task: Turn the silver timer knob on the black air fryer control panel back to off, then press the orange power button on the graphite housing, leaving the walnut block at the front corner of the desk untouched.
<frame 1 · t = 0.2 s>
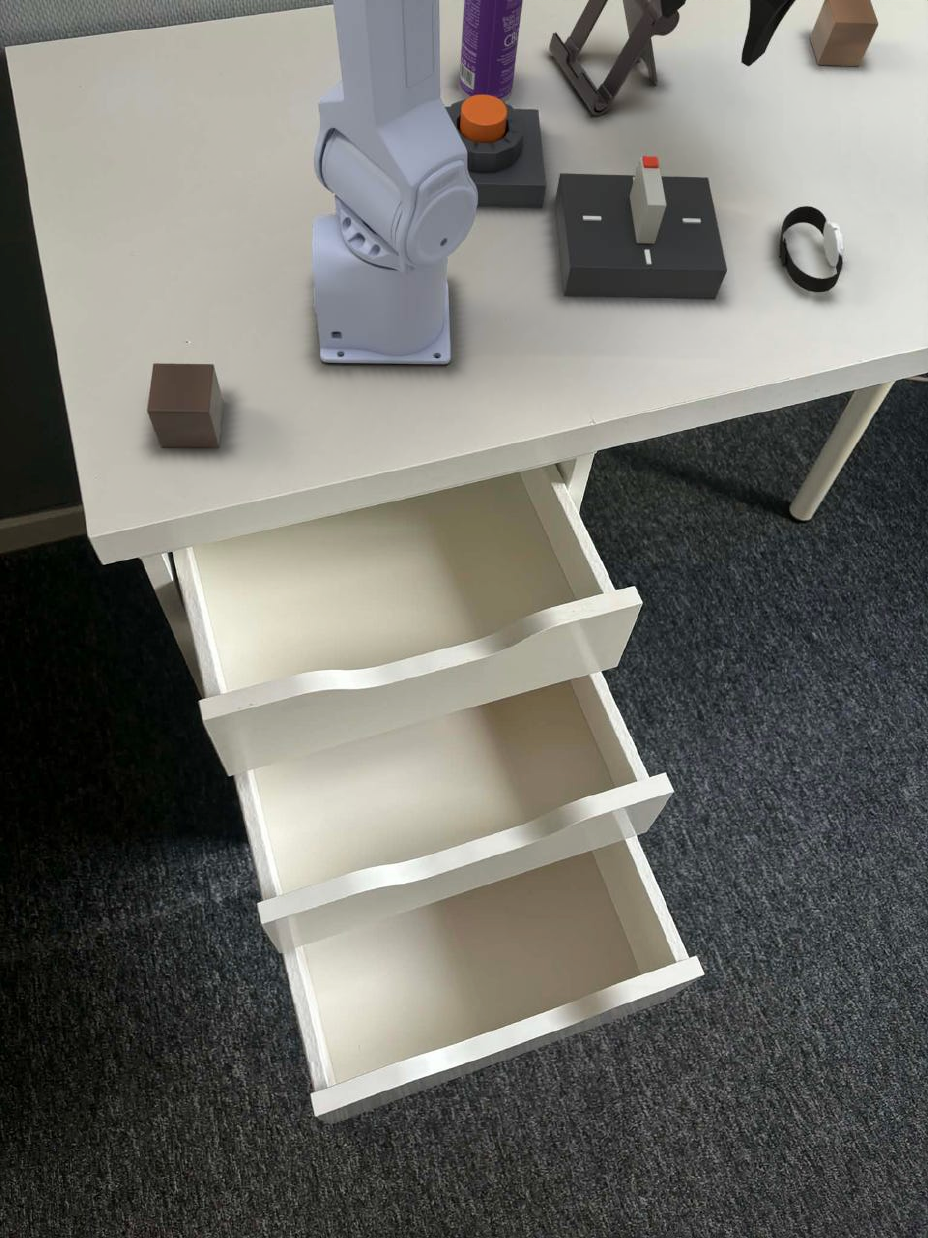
hand: (712, 32, 72), 11 cm above the table, tool pointing down, fingers open, 7 cm apart
tablet stand: (606, 79, 85), on the table
container: (485, 90, 83), on the table
walnut block: (192, 424, 66), on the table
cork block: (834, 51, 88), on the table
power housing: (479, 167, 79), on the table
watch: (803, 264, 77), on the table
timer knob: (647, 199, 71), point 5 cm above the table, hinge at 90.0°
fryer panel: (633, 250, 76), on the table
power button: (483, 119, 75), point 4 cm above the table, slide at 0.1 cm
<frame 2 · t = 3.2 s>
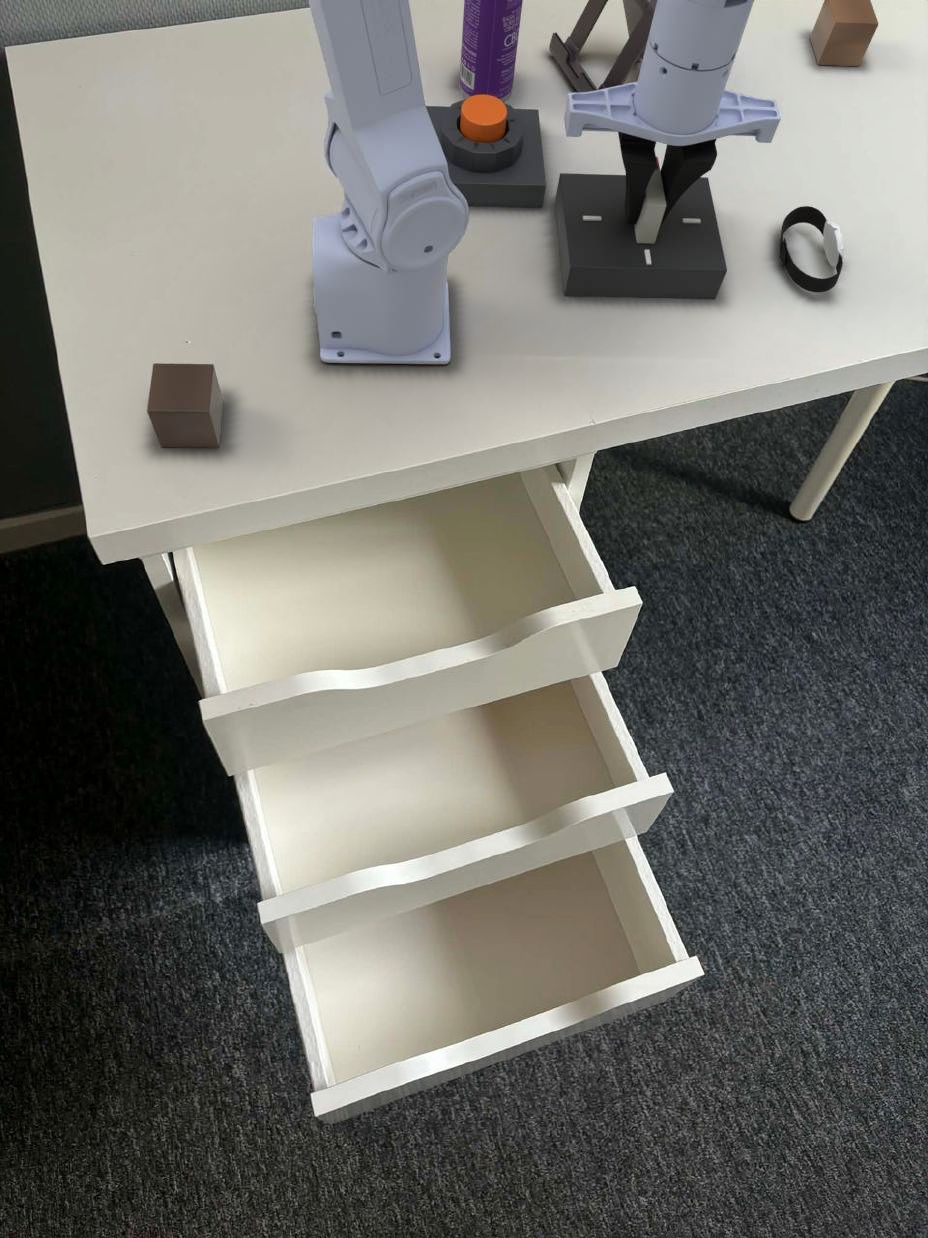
hand: (643, 215, 73), 4 cm above the table, tool pointing down, fingers closed on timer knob
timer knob: (647, 199, 71), point 5 cm above the table, hinge at 90.1°, touching gripper
everything else where it was.
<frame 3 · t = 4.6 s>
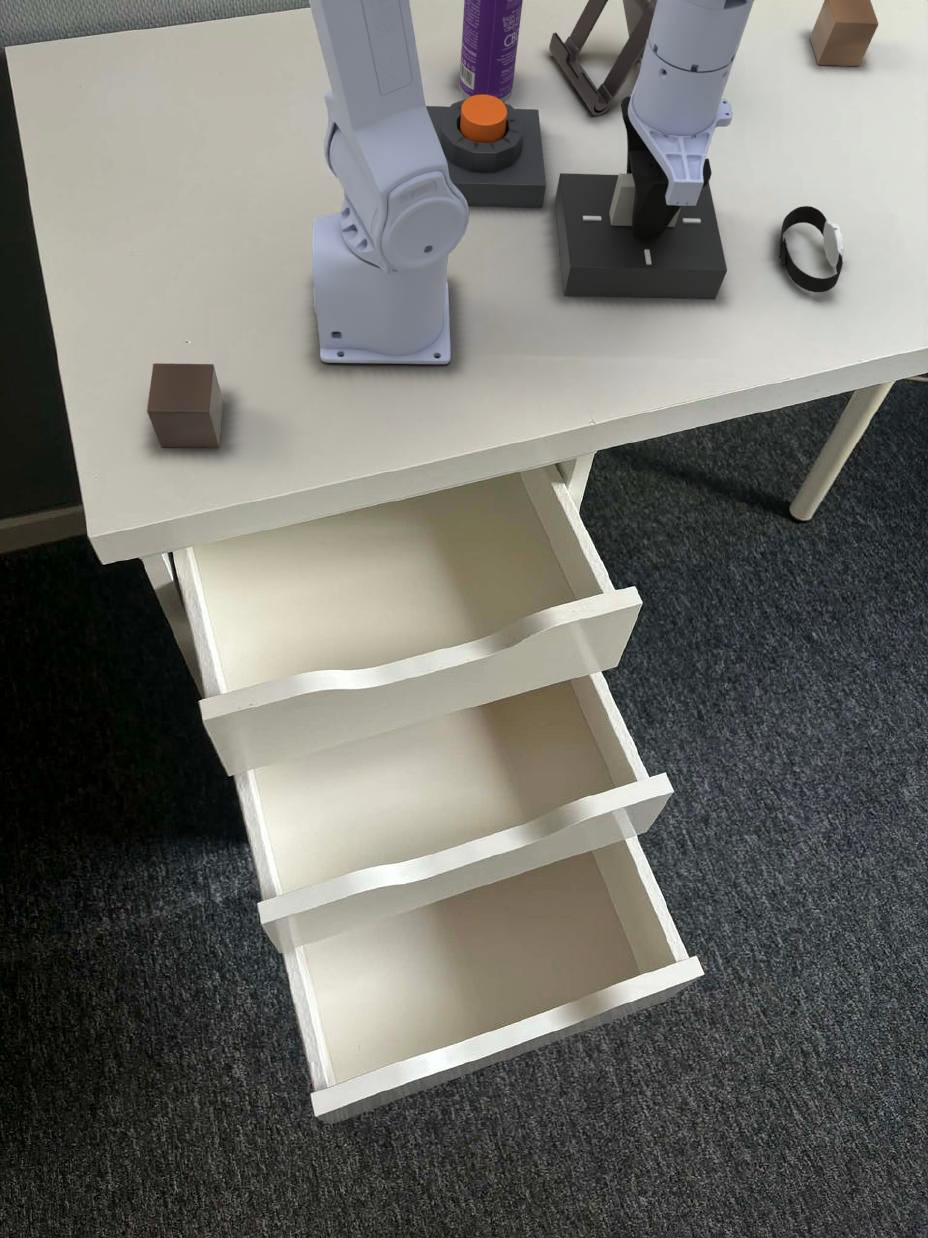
hand: (642, 215, 73), 3 cm above the table, tool pointing down, fingers open, 3 cm apart
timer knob: (647, 199, 71), point 5 cm above the table, hinge at 0.1°
everything else where it was.
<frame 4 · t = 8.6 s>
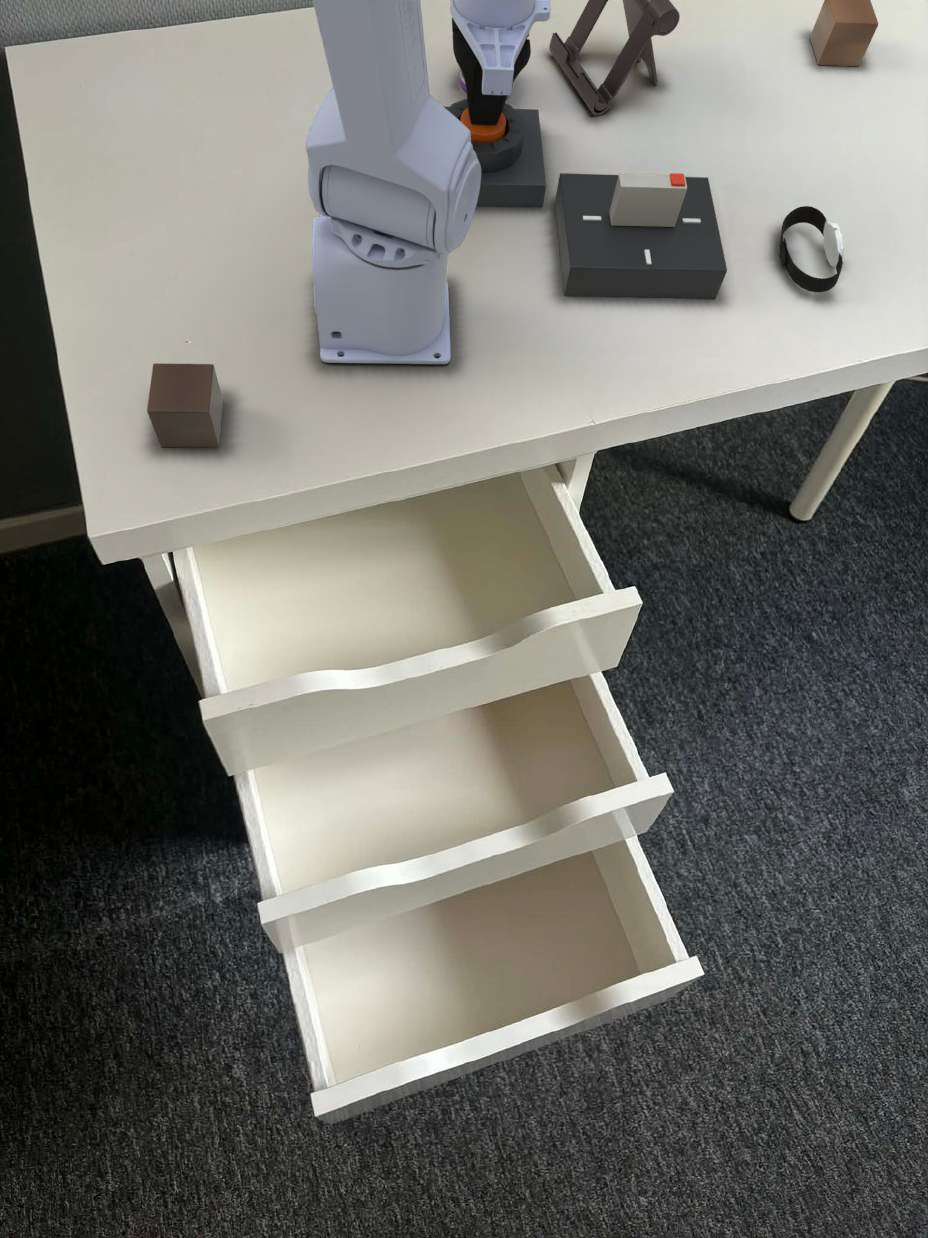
hand: (483, 119, 75), 4 cm above the table, tool pointing down, fingers closed, pressing on power button
power button: (482, 128, 76), point 4 cm above the table, slide at -0.8 cm, touching gripper
everything else where it was.
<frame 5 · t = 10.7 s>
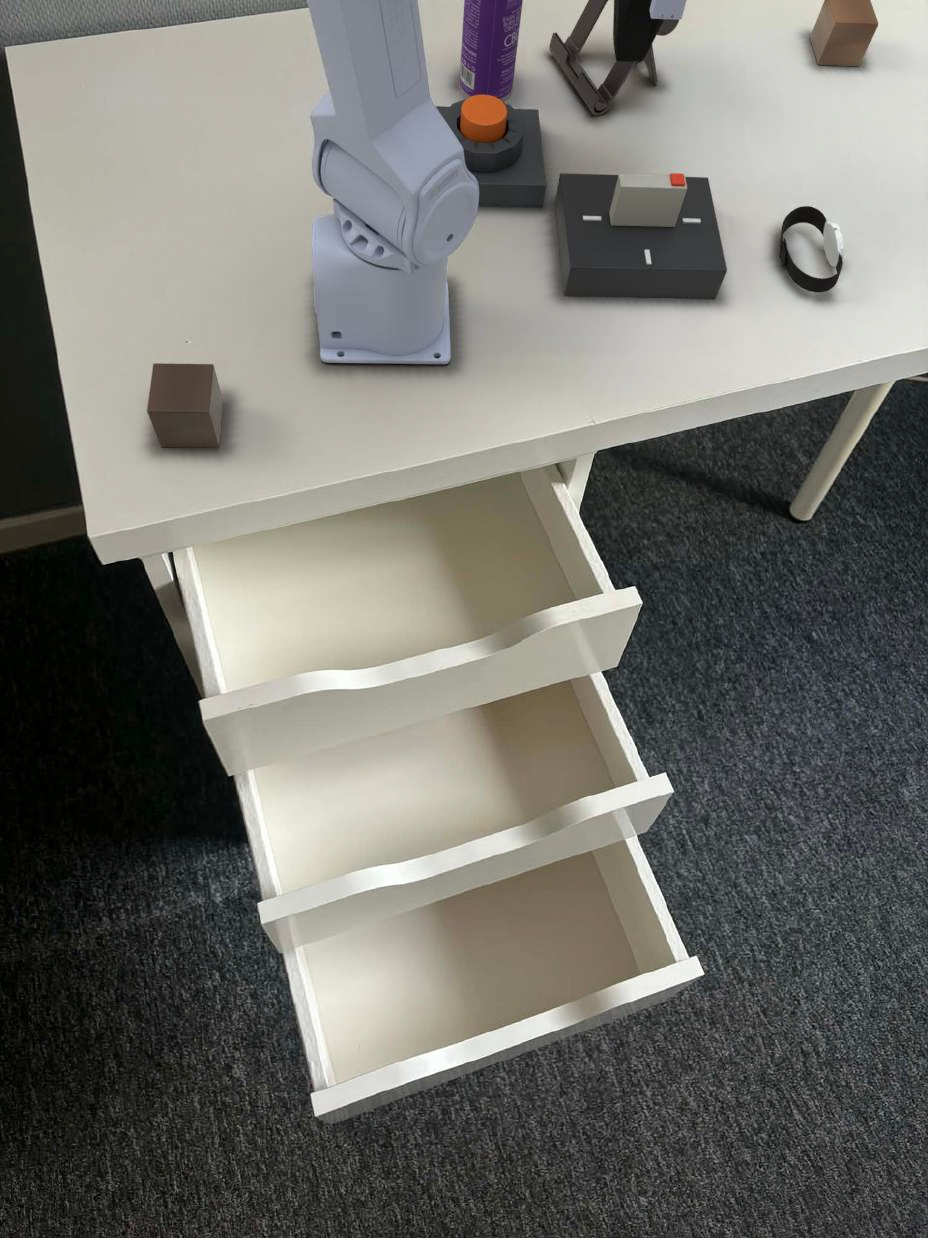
hand: (628, 55, 70), 10 cm above the table, tool pointing down, fingers closed
power button: (483, 119, 75), point 4 cm above the table, slide at 0.1 cm
everything else where it was.
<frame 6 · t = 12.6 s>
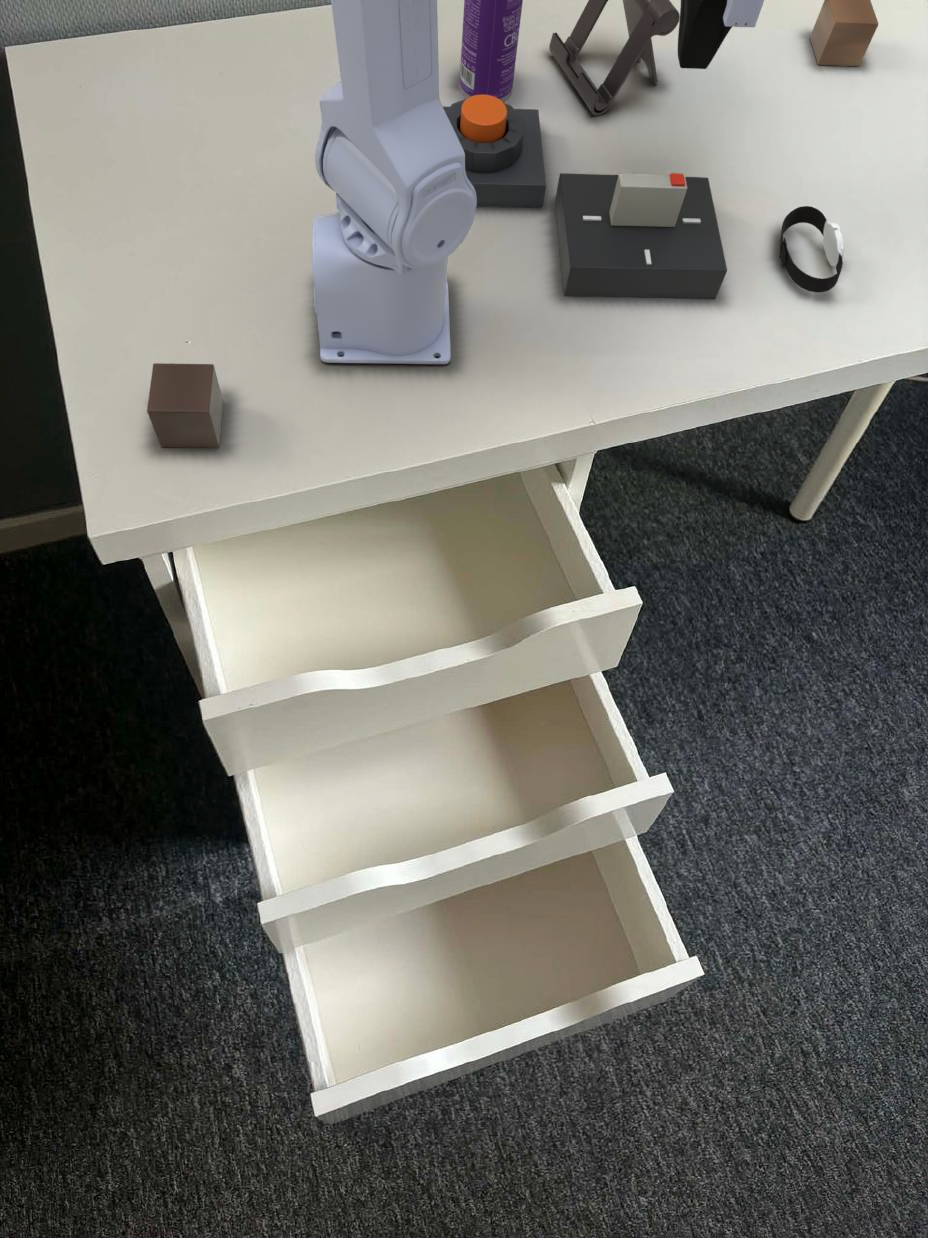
hand: (692, 62, 70), 10 cm above the table, tool pointing down, fingers closed
nothing on the table moved.
at the end: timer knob at +0° (first picture: +90°); power button pushed in 1.2 cm at the most during the clip, back to where it started at the end; walnut block 0.0 cm from the target spot on the table beside the cork block, on the table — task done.
